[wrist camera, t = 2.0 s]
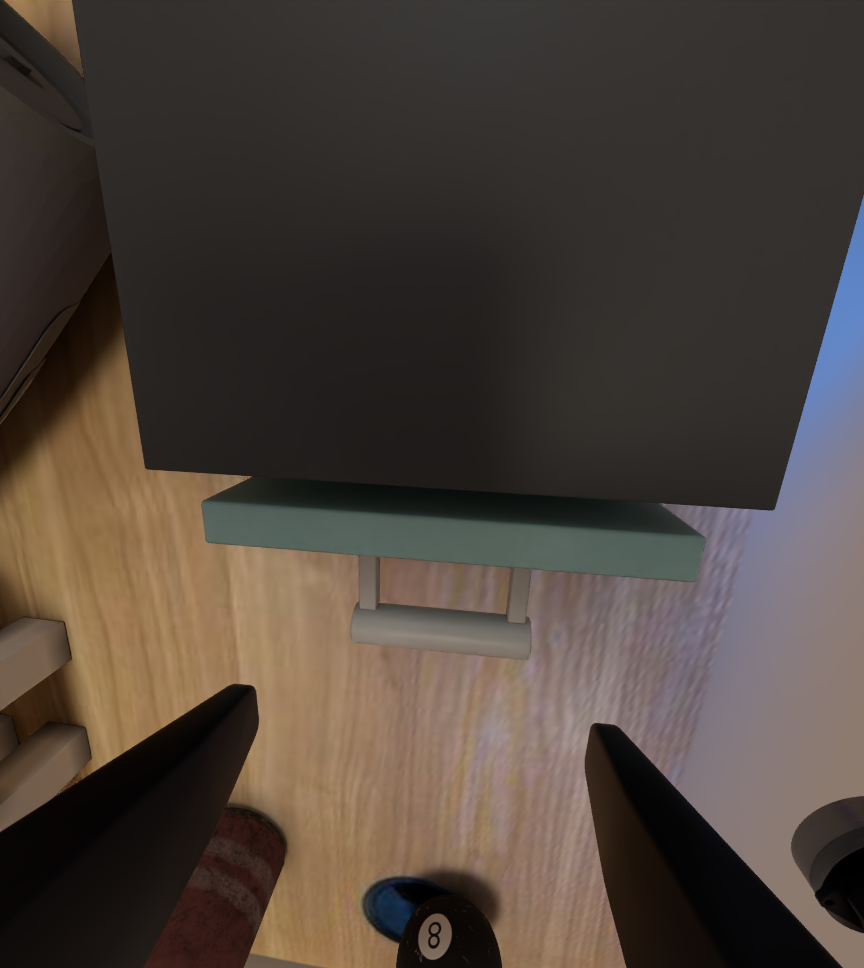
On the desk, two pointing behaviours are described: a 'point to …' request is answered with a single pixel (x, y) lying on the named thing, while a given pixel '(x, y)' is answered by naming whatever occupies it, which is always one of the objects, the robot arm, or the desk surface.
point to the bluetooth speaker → (42, 201)
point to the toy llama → (51, 749)
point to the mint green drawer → (454, 547)
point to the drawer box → (478, 235)
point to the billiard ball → (448, 936)
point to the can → (223, 896)
